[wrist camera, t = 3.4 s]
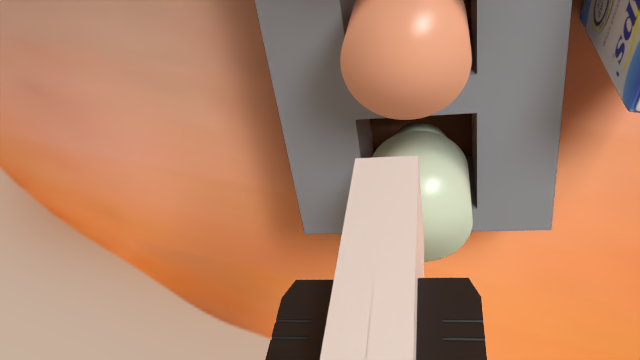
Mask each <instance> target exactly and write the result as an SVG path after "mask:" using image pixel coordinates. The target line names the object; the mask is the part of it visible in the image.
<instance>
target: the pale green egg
mask: <svg viewBox="0 0 640 360" xmlns="http://www.w3.org/2000/svg"><path fill="white" fill-rule="evenodd" d="M398 156H418V158H419V173H420V188H421V203H422V218H423V233H424V262H428V261H434V260H438V259H441V258H444V257H446V256H448V255H450V254H452V253H454V252H455V251H457V250H458V249H459V248H460V247H462V245H463V244H464V243H465V242H466V241H467V239H468V238H469V235H470V233H471V230H472V225H473V217H472V205H471V193H470V181H469V170H468V163H467V159H466V157H465V155H464V153H463V152H462V150H461V149H460V148H459V147H458V145H456V144H455V143H454V142H453V141H452V140H450V139H449V138H447V137H446V136H445V134H444V133H443V132H442V131H441V130H440V129H439V128H437V127H436V126H434V125H431V124H428V123H422V122H417V123H411V124H407V125H405V126H403V127H401V128H400V129H398V130H397V131H396V132H395V133H394V135H393V136H392V137H390V138H389V139H387V140H386V141H384V142H383V143H382V144H381V145H380V146H379V147H378V148H377V149H376V151H375V152H374V154H373V156H372V158H376V157H398Z"/></svg>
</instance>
